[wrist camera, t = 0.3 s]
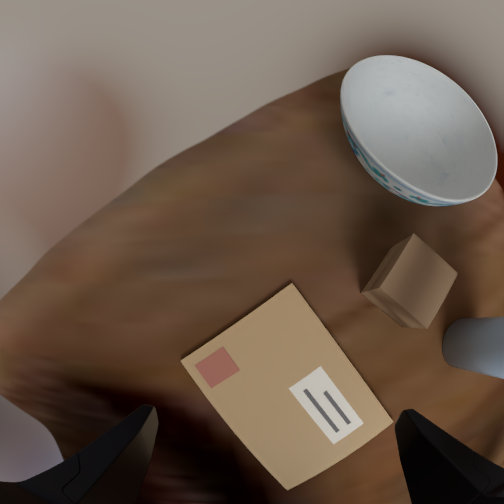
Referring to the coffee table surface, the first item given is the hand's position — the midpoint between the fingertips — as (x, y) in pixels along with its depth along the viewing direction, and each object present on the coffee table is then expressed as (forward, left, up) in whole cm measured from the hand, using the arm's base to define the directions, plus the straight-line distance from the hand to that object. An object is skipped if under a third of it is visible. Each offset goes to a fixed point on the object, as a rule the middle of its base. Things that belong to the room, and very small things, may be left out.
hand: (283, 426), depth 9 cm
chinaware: (+8, -21, -15) cm, 27 cm away
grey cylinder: (-10, -14, -14) cm, 23 cm away
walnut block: (-1, -12, -15) cm, 19 cm away
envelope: (-3, +1, -14) cm, 15 cm away
